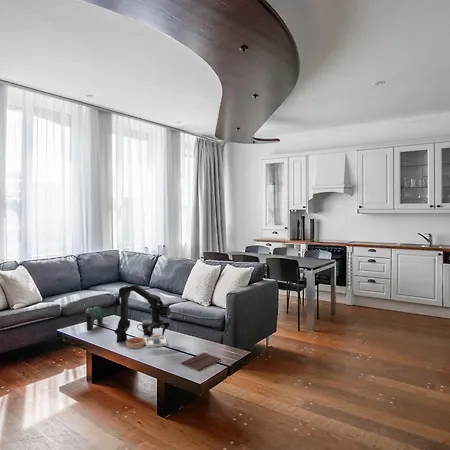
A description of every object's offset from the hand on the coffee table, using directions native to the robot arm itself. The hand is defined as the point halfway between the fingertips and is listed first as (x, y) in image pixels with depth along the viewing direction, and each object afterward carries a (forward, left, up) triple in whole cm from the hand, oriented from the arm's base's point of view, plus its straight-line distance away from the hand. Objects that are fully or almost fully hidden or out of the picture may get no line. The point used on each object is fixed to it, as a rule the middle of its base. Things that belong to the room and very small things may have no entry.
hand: (156, 336), depth 254 cm
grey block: (0, 0, -5) cm, 5 cm away
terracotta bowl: (-14, +3, -6) cm, 15 cm away
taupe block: (0, +6, -5) cm, 8 cm away
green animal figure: (-45, +55, -6) cm, 71 cm away
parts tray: (0, +3, -6) cm, 6 cm away
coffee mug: (-5, +24, -6) cm, 25 cm away
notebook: (+25, -37, -6) cm, 45 cm away
